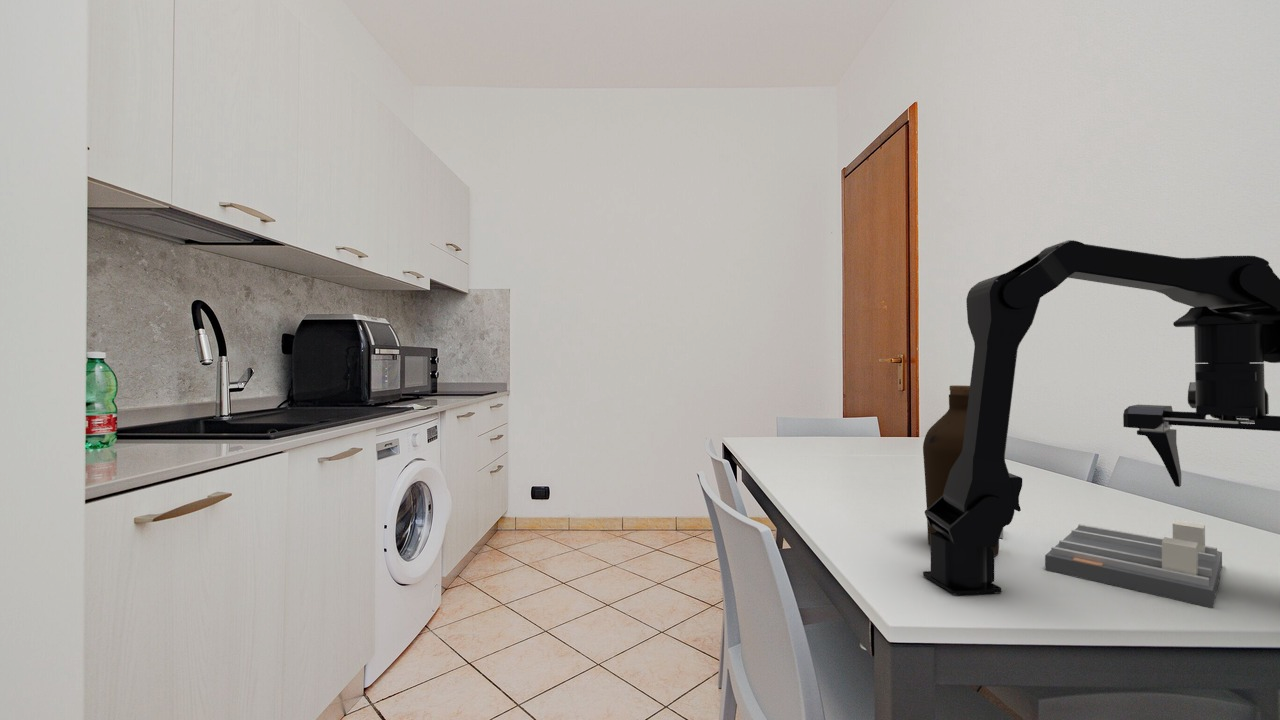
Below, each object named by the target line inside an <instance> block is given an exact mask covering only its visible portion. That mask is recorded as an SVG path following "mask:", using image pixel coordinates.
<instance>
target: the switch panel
mask: <svg viewBox="0 0 1280 720" xmlns="http://www.w3.org/2000/svg"><path fill="white" fill-rule="evenodd" d="M1164 538H1165V537H1164ZM1164 538H1162V537H1157V536H1152V535H1145V534H1140V533H1133V532H1130V531H1129V532H1127V531H1122V530H1117V529H1111V528H1103V527H1100V526H1099V527H1097V526H1093V525H1092V526H1091V525H1086V524H1081V523H1079V524H1077V527H1076V528H1075V529H1071V532H1070V533H1069V534H1068V535H1067V536H1065V537H1064V538H1063V539H1059V542H1058V543H1057V544H1056V545H1055V546H1051V549H1050V550H1049V551H1048V552H1047V553H1045V554H1044V562H1045V566H1044V570H1046V571H1050V572H1054V573H1057V574H1063V575H1067V576H1072V577H1075V578H1080V579H1084V580H1088V581H1089V580H1090V581H1092V582H1098V583H1101V584H1106V585H1112V586H1115V587H1119V588H1122V589H1123V588H1124V589H1128V590H1131V591H1132V590H1133V591H1136V592H1137V591H1138V592H1141V593H1146V594H1150V595H1155V596H1158V597H1163V598H1168V599H1172V600H1176V601H1181V602H1185V603H1189V604H1194V605H1198V606H1202V607H1206V608H1211V609H1214V604H1215V601H1216V595H1217V592H1218V586H1219V582H1220V577H1221V573H1222V569H1223V552H1222V551H1218V547H1214V546H1209V545H1205V553H1202V552H1198V575H1192V574H1187V573H1182V572H1177V571H1172V570H1167V569H1162V541H1163V539H1164Z"/></svg>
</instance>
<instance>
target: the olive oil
mask: <svg viewBox="0 0 1280 720" xmlns="http://www.w3.org/2000/svg"><path fill="white" fill-rule="evenodd" d="M969 390H970V385H958V384H957V385H953V384H952V385H949V394H948V410H947V411H946V412H945V413H944V414H943V415H942V416H941V417H940V418H939V419H937V421H936V422H935V423H934V424H932V426H931V427H929V429H927V432H926V434H925V436H924V440H923V444H922V453H923V455H922V456H923V467H924V468H923V469H924V481H925V482H924V483H925V484H924V485H925V497H926V498H925V503H926V509H928V508H929V507H930V506H931V505H932V504H933V503H934V502H935V501H937V500H938V499H939V498H940V497H941V496H942V495H943V492H944V488H945V485H946V482H947V479H948V476H949V473H950V470H951V468H952V467H953V465H954V463H955V462H956V460H957V459H958V457H959V456H960V454H961V452H962V448H963V441H964V432H965V424H966V416H967V407H968V399H969ZM926 524H927V525H926V527H927V542H928V545H929V546H930V533H935V532H936V531H937V530H936V529H935V528H933V527H931V526H930V525H929V523H928V521H927V520H926ZM992 549H993V550H994V557H996V556H998V555H999V552H1000V539H999V540H998V542H997V545H996V547H992Z"/></svg>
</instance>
